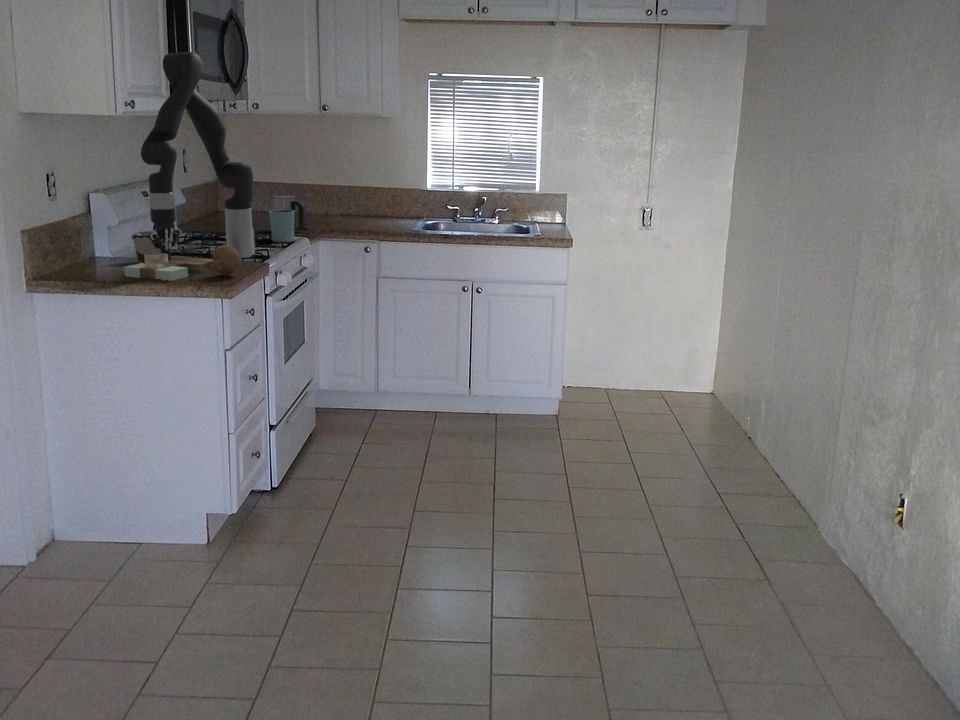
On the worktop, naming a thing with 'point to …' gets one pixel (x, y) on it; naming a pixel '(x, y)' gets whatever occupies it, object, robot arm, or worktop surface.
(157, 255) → the birch block
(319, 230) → the worktop surface
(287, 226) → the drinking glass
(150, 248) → the food container
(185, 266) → the trap deck
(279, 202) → the milk frother
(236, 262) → the natural sponge
